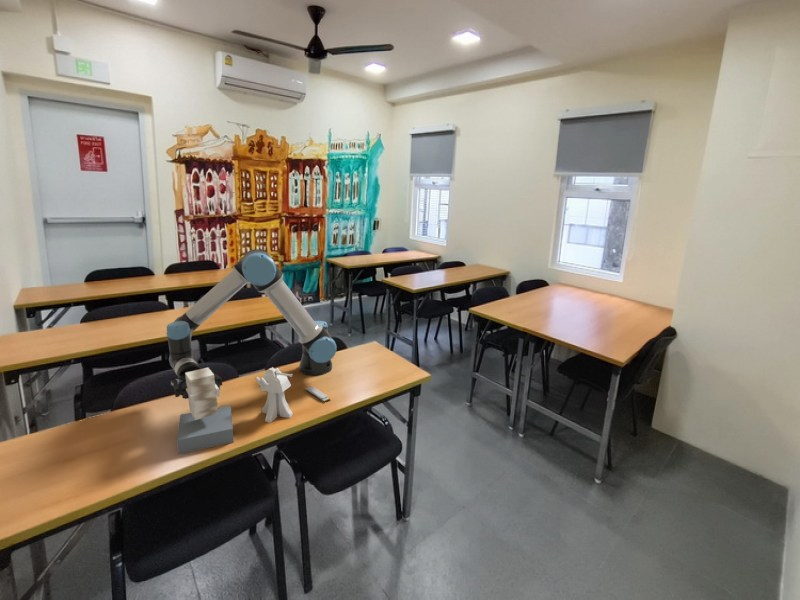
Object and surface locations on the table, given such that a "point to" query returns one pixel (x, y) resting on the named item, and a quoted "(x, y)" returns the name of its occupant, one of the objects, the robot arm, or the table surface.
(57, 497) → the table surface
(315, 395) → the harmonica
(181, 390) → the robot arm
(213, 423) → the slate plinth
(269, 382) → the white mech figurine
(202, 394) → the tall block
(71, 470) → the table surface
